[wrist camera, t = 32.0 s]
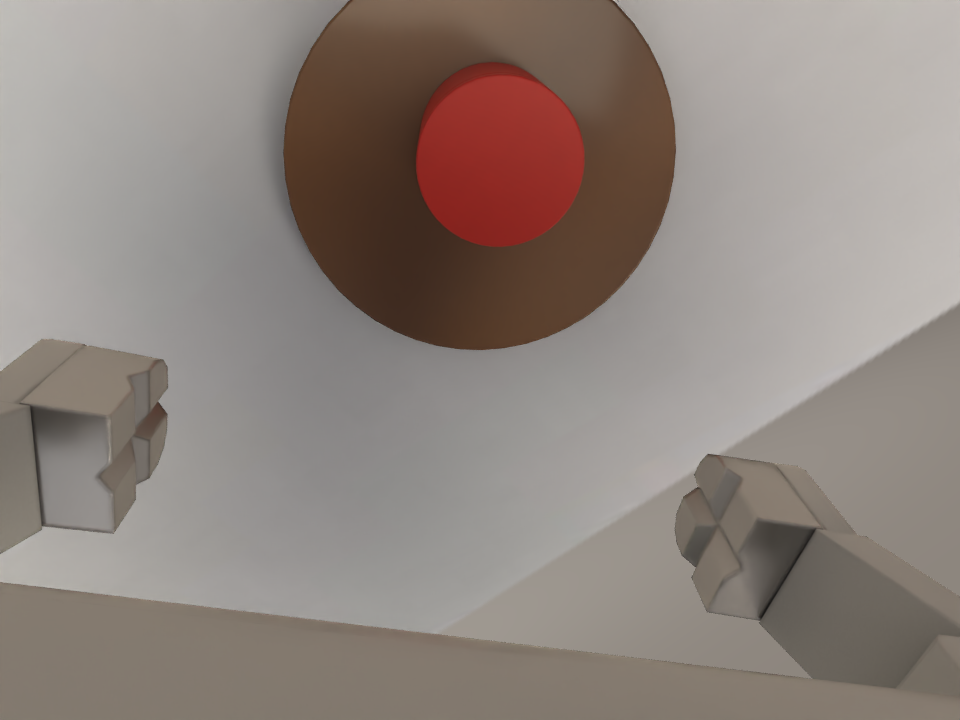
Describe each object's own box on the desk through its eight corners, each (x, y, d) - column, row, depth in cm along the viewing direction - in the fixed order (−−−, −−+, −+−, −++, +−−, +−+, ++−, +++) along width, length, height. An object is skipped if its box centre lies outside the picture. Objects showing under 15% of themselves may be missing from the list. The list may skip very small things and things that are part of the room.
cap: (587, 95, 17) (616, 113, 15) (531, 228, 19) (546, 269, 16) (447, 37, 17) (448, 45, 14) (401, 182, 18) (394, 216, 15)
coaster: (744, 60, 18) (754, 62, 17) (566, 384, 22) (569, 393, 22) (355, -137, 15) (352, -141, 15) (246, 274, 20) (241, 281, 19)
